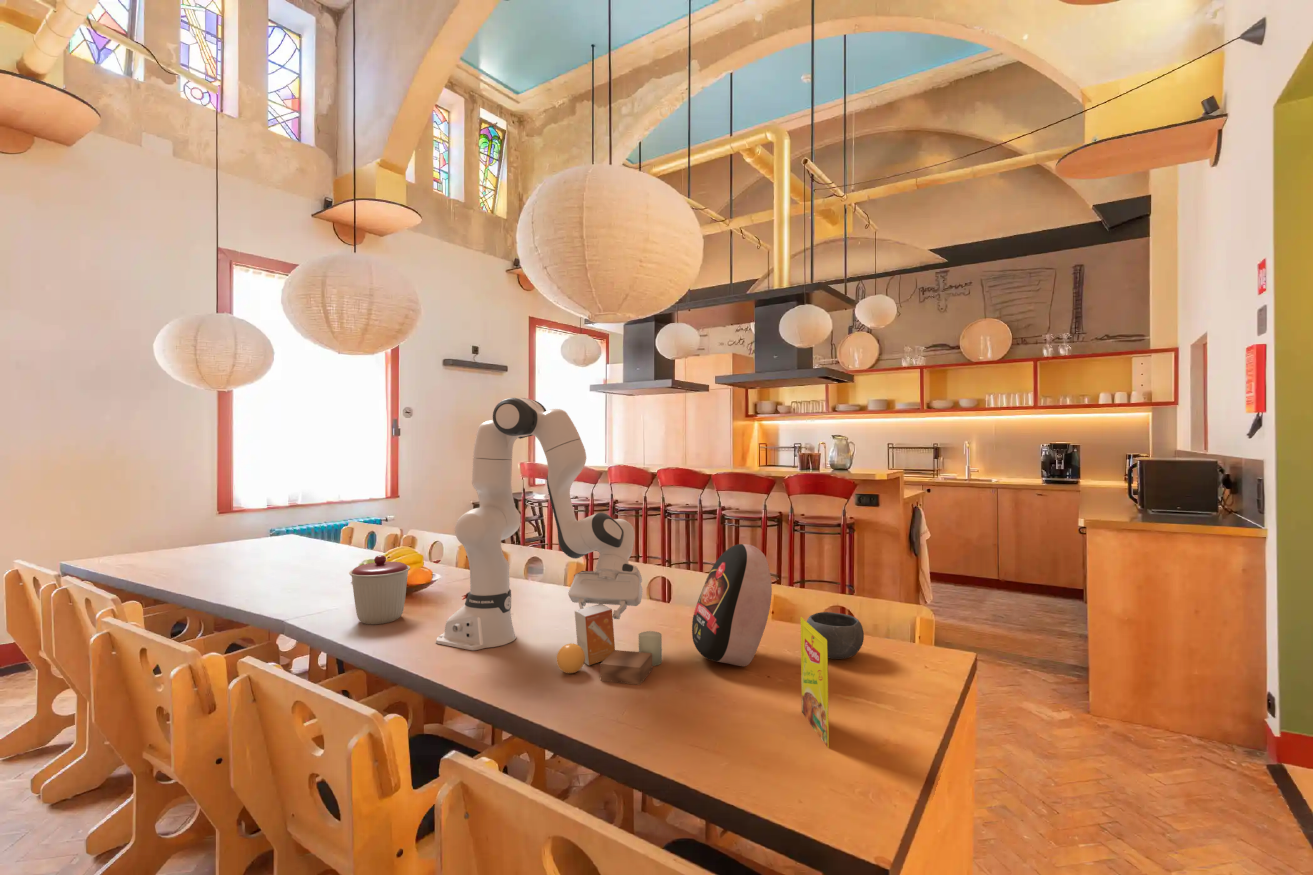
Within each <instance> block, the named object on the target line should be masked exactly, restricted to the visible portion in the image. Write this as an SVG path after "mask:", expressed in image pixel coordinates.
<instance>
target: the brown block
mask: <svg viewBox="0 0 1313 875" xmlns="http://www.w3.org/2000/svg"><path fill="white" fill-rule="evenodd" d="M599 667H600V671H599V673H600V681H603V682H613V683H621V684H629V685H630V684H632V685H639V686H640V685H642V683H643V682H644V681H645V679H646V678H647V676H649V674H650V673H651V672H652V671H653V666H652V653H643V652H639V651H629V650H621V649H620V650H618V649H615V650H614V651H613V652H612V653H611V654H610V655H609V656H608V657H607V658H606V659H605V660H604V661H601V663H600V664H599Z"/></svg>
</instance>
